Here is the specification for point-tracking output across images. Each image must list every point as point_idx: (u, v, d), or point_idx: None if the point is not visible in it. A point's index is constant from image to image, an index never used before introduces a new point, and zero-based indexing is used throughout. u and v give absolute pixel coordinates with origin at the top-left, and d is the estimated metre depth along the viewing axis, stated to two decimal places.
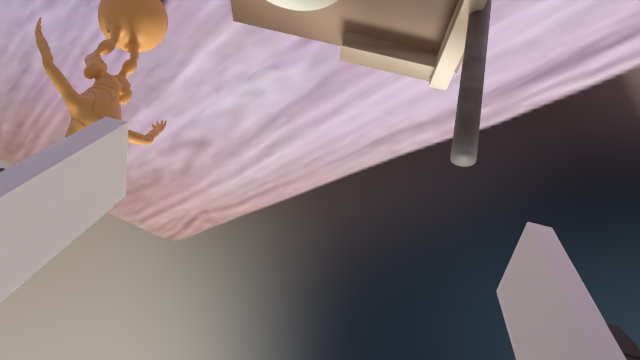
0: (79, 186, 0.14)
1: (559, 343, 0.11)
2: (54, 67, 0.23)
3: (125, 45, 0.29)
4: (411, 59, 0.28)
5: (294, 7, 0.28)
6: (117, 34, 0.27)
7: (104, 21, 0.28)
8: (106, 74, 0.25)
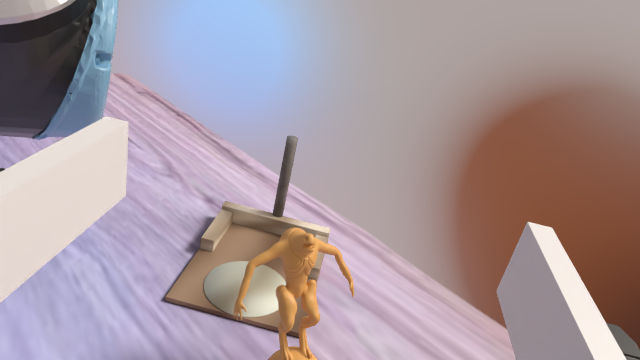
0: (79, 186, 0.14)
1: (559, 343, 0.11)
2: None
3: (302, 353, 0.31)
4: None
5: None
6: None
7: None
8: None
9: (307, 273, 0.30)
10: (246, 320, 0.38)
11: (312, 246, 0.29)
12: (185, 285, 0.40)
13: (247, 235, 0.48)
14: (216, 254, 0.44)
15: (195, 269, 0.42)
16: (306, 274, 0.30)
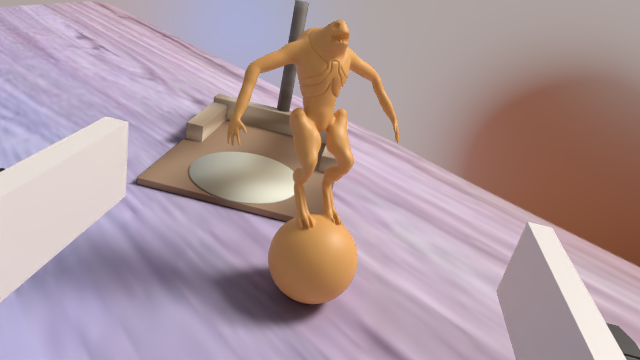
0: (79, 186, 0.14)
1: (559, 343, 0.11)
2: None
3: (327, 217, 0.21)
4: None
5: None
6: None
7: (295, 234, 0.20)
8: None
9: (336, 90, 0.20)
10: (245, 207, 0.28)
11: None
12: (164, 168, 0.30)
13: None
14: (206, 144, 0.34)
15: (178, 155, 0.32)
16: (334, 93, 0.20)
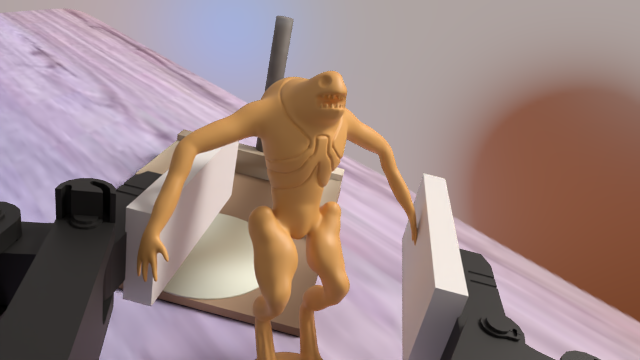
0: (210, 187, 0.15)
1: (421, 264, 0.13)
2: None
3: None
4: None
5: None
6: None
7: None
8: None
9: (323, 179, 0.13)
10: (199, 304, 0.21)
11: (339, 105, 0.12)
12: None
13: None
14: None
15: None
16: (321, 182, 0.13)
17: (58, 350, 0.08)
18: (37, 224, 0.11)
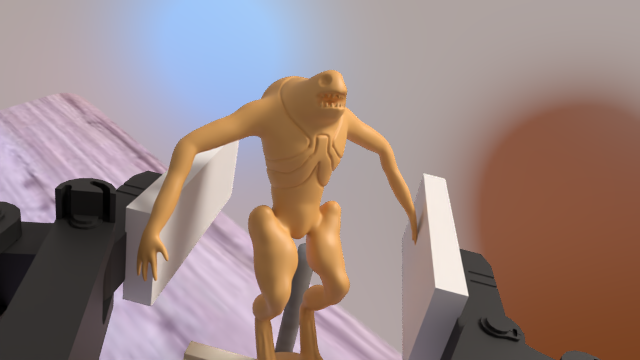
0: (210, 187, 0.15)
1: (421, 264, 0.13)
2: None
3: None
4: None
5: None
6: None
7: None
8: None
9: (323, 178, 0.13)
10: None
11: (339, 104, 0.12)
12: None
13: None
14: None
15: None
16: (321, 181, 0.13)
17: (58, 350, 0.08)
18: (37, 224, 0.11)
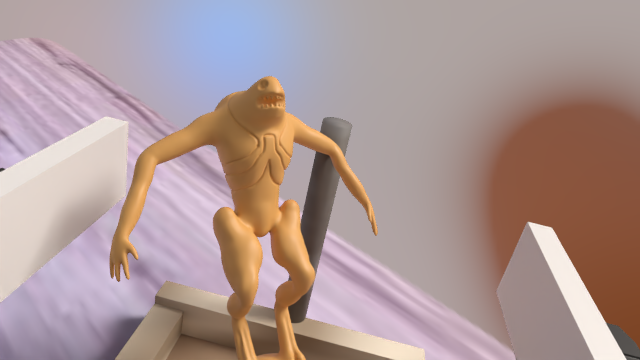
0: (79, 186, 0.14)
1: (559, 343, 0.11)
2: None
3: None
4: None
5: None
6: None
7: None
8: None
9: (276, 176, 0.14)
10: None
11: (279, 105, 0.13)
12: None
13: None
14: None
15: None
16: (274, 179, 0.14)
17: None
18: None
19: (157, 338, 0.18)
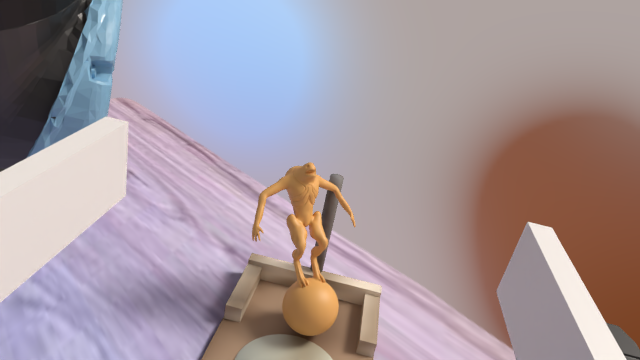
0: (79, 186, 0.14)
1: (559, 343, 0.11)
2: None
3: (316, 278, 0.34)
4: (363, 306, 0.38)
5: None
6: None
7: (297, 291, 0.33)
8: None
9: (312, 201, 0.34)
10: None
11: (313, 173, 0.33)
12: None
13: (280, 296, 0.38)
14: (244, 325, 0.35)
15: (219, 349, 0.32)
16: (311, 202, 0.34)
17: None
18: None
19: (252, 277, 0.38)
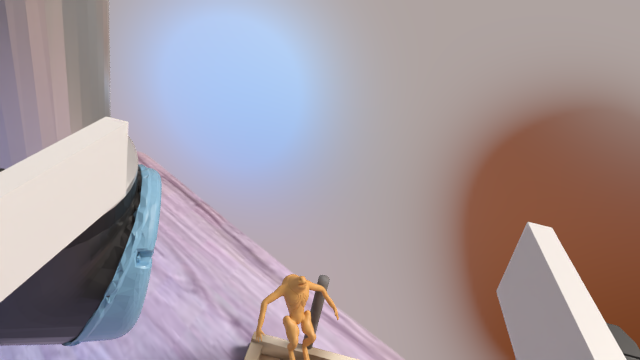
0: (79, 186, 0.14)
1: (559, 343, 0.11)
2: None
3: None
4: None
5: None
6: None
7: None
8: None
9: (303, 305, 0.43)
10: None
11: (304, 285, 0.42)
12: None
13: None
14: None
15: None
16: (303, 306, 0.43)
17: None
18: None
19: (255, 356, 0.47)
